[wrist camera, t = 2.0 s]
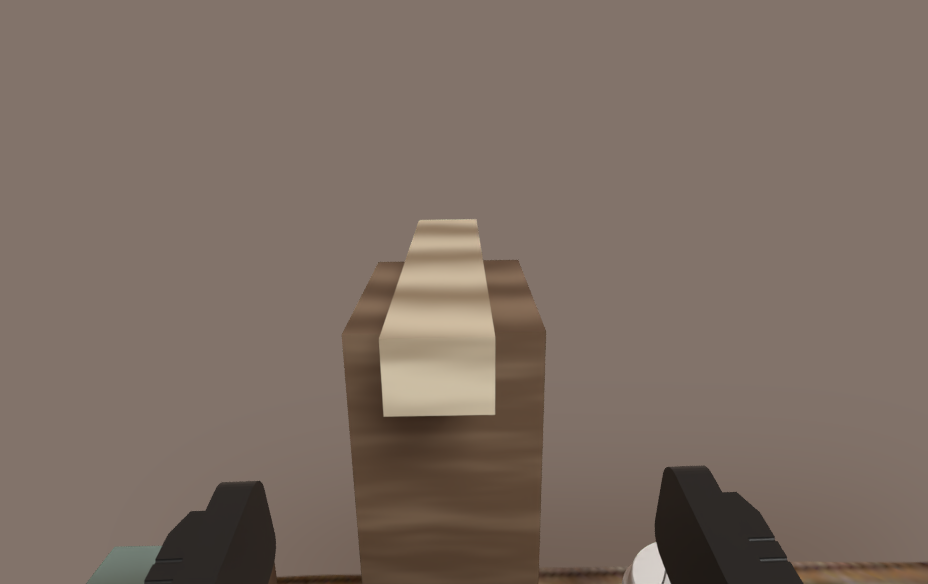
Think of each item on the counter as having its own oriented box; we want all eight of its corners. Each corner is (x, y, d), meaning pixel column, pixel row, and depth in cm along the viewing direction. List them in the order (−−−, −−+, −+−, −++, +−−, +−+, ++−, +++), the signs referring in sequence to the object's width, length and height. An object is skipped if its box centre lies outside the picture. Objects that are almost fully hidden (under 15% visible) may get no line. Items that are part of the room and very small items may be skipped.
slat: (495, 414, 21) (495, 336, 20) (383, 416, 21) (378, 338, 20) (476, 260, 42) (476, 219, 41) (420, 261, 42) (419, 220, 41)
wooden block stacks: (563, 1076, 27) (604, 480, 17) (83, 1087, 27) (-147, 493, 17) (513, 611, 52) (518, 259, 42) (263, 616, 52) (210, 264, 42)
